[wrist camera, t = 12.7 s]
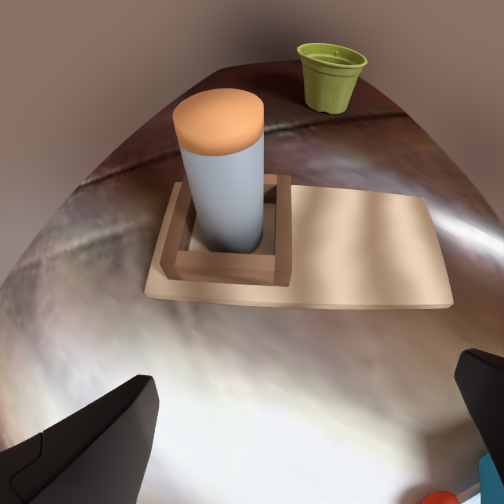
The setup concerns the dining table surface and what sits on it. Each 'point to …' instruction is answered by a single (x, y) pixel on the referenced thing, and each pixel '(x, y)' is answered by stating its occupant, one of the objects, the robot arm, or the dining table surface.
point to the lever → (475, 488)
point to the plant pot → (329, 75)
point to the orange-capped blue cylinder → (224, 166)
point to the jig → (307, 253)
